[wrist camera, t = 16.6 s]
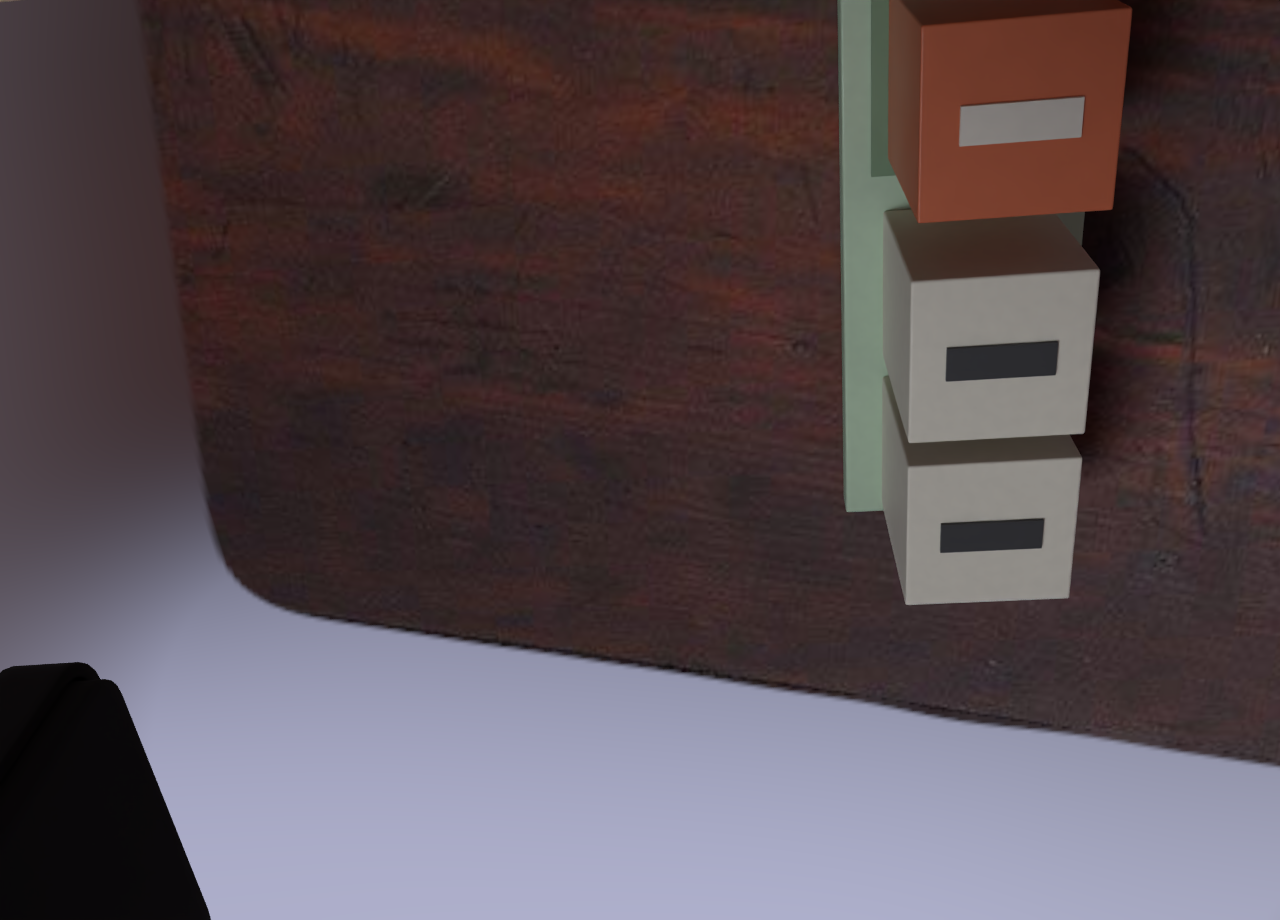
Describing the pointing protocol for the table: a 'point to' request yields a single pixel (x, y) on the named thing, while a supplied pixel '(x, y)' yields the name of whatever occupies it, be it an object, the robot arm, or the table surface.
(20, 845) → the robot arm
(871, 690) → the table surface
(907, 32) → the red block
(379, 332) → the table surface
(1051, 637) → the table surface
